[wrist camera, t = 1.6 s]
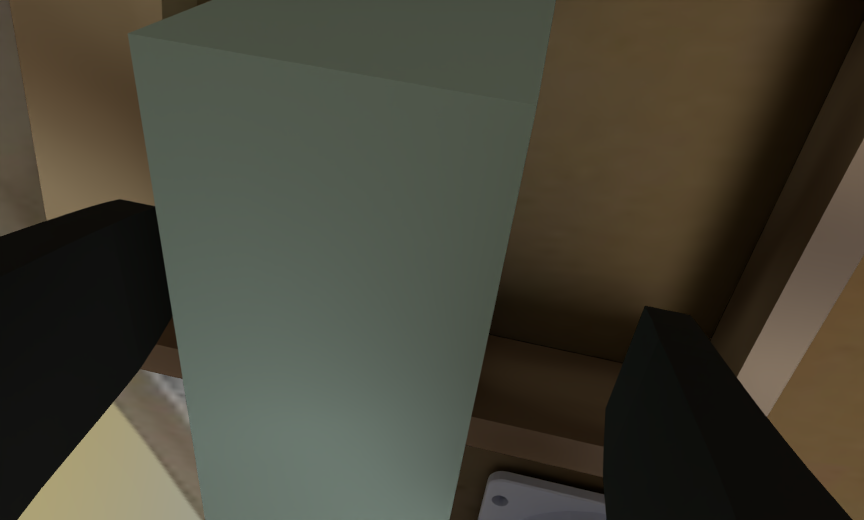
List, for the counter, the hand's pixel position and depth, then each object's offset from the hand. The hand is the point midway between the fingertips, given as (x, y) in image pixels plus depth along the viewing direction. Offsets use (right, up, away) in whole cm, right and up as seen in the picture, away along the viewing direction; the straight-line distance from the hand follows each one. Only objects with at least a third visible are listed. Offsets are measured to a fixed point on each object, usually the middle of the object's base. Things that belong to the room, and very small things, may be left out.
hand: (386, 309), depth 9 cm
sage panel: (+1, +3, +5) cm, 6 cm away
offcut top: (-6, +4, +4) cm, 8 cm away
